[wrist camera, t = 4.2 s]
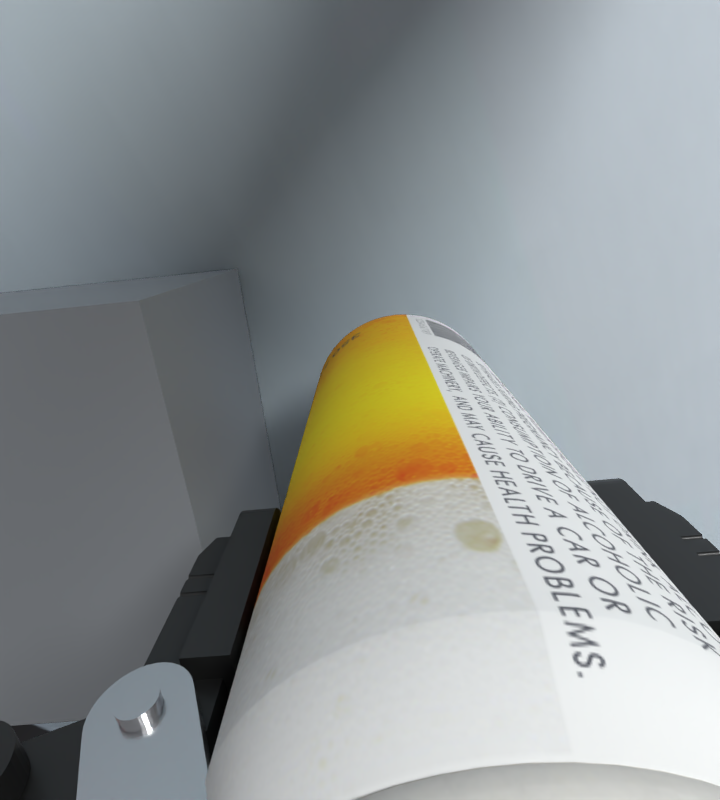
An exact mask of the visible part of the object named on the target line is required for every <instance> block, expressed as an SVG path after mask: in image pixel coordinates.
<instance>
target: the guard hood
mask: <svg viewBox="0 0 720 800" xmlns="http://www.w3.org/2000/svg"><path fill="white" fill-rule="evenodd" d="M267 508H279V510H280V512H281V508H280V502H279V496H278V491H277V485H276V480H275V474H274V469H273V463H272V458H271V452H270V447H269V441H268V435H267V430H266V424H265V419H264V413H263V408H262V402H261V397H260V391H259V385H258V380H257V374H256V369H255V363H254V358H253V352H252V347H251V341H250V335H249V330H248V324H247V319H246V313H245V308H244V302H243V297H242V291H241V286H240V280H239V274H238V269H230V270H220V271H211V272H201V273H191V274H181V275H172V276H162V277H152V278H142V279H133V280H123V281H113V282H103V283H94V284H84V285H74V286H64V287H55V288H45V289H35V290H25V291H16V292H6V293H0V721H4V722H6V723H8V724H9V725H10V726H13V725H27V724H41V723H54V722H68V721H80V720H83V719H85V718H87V716H88V714H89V712H90V710H91V708H92V707H93V705H94V704H95V703H96V701H97V700H98V699H99V697H100V696H101V695H102V694H103V693H104V692H105V691H106V690H107V689H108V688H109V687H110V686H111V685H112V684H114V683H115V682H116V681H118V680H119V679H120V678H122V677H123V676H125V675H126V674H128V673H130V672H132V671H134V670H136V669H138V668H140V667H143V666H144V664H145V662H146V660H147V658H148V656H149V654H150V652H151V650H152V648H153V646H154V644H155V642H156V640H157V638H158V636H159V634H160V632H161V630H162V628H163V626H164V624H165V622H166V620H167V618H168V616H169V614H170V612H171V610H172V608H173V606H174V604H175V602H176V600H177V598H178V597H180V592H181V590H182V588H183V586H184V584H185V582H186V580H188V578H189V576H188V575H189V573H190V571H191V569H192V567H193V565H194V563H195V561H196V559H197V557H198V555H199V554H200V553H201V552H203V551H204V550H205V549H206V548H207V547H208V546H209V545H210V544H211V543H212V542H213V541H214V540H215V539H216V538H219V537H230V536H231V534H232V531H233V529H234V526H235V524H236V522H237V519H238V517H239V515H240V513H241V512H242V511H245V510H256V509H267Z"/></svg>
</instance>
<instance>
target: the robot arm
mask: <svg viewBox="0 0 720 800" xmlns="http://www.w3.org/2000/svg"><path fill="white" fill-rule="evenodd" d="M586 482H587V483H588V484H589V485H590V486H591V488H592V489H593V490H594V491H595V492H596V493H597V495H598V496H599V497H600V498H601V499H602V501H603V502H604V503H605V504H606V505H607V506H608V508H609V509H610V510H611V511H612V512H613V513H614V515H615V516H616V517H617V518H618V519H619V520H620V522H621V523H622V524H623V525H624V526H625V528H626V529H627V530H628V531H629V532H630V533H631V535H632V536H633V537H634V538H635V539H636V540H637V542H638V543H639V544H640V545H641V546H642V547H643V549H644V550H645V551H646V552H647V553H648V554H649V556H650V557H651V558H652V559H653V560H654V562H655V563H656V564H657V565H658V566H659V567H660V569H661V570H662V571H663V572H664V573H665V574H666V576H667V577H668V578H669V579H670V580H671V581H672V583H673V584H674V585H675V586H676V587H677V589H678V590H679V591H680V592H681V593H682V594H683V596H684V597H685V598H686V599H687V600H688V601H689V603H690V604H691V605H692V606H693V607H694V608H695V610H696V611H697V612H698V613H699V614H700V616H701V617H702V618H703V619H704V620H705V621H706V623H707V624H708V625H709V626H710V627H711V628H712V630H713V631H714V632H715V633H716V634H717V635H718V637H719V638H720V553H719V550H718V549H717V548H716V547H715V546H714V545H713V544H711V543H710V542H709V541H708V540H707V539H703V538H702V534H701V533H700V532H699V531H697V530H696V529H695V528H694V527H693V526H692V525H691V524H690V523H689V522H688V521H687V520H686V519H685V518H683V517H682V516H681V515H679V514H677V513H675V512H673V511H671V510H670V509H668V508H666V507H664V506H662V505H660V504H658V503H656V502H654V501H651V502H645V501H644V500H643V499H642V498H641V497H640V496H639V495H638V494H637V493H636V492H635V491H634V490H633V489H632V488H631V487H630V486H629V485H628V484H627V483H626V482H625V481H624V480H622V479H619V478H618V479H607V480H595V481H586ZM280 515H281V512H280V510H279V508H267V509H256V510H245V511H242V512H241V513H240V515H239V517H238V519H237V522H236V524H235V526H234V529H233V531H232V534H231V536H230V537H219V538H216V539H215V540H214V541H213V542H212V543H211V544H210V545H209V546H208V547H207V548H206V549H205V550H204V551H203V552H201V553H200V554H199V555H198V557H197V559H196V561H195V563H194V565H193V567H192V569H191V571H190V573H189V575H188V576H189V578H188V580H186V582H185V584H184V586H183V588H182V590H181V592H180V597H178V598H177V600H176V602H175V604H174V606H173V608H172V610H171V612H170V614H169V616H168V618H167V620H166V622H165V624H164V626H163V628H162V630H161V632H160V634H159V636H158V638H157V640H156V642H155V644H154V646H153V648H152V650H151V652H150V654H149V656H148V658H147V660H146V662H145V664H144V666H143V667H140V668H138V669H136V670H134V671H132V672H130V673H128V674H126V675H125V676H123V677H122V678H120V679H119V680H118V681H116V682H115V683H114V684H112V685H111V686H110V687H109V688H108V689H107V690H106V691H105V692H104V693H103V694H102V695H101V696H100V697H99V699H98V700H97V701H96V703H95V704H94V705H93V707H92V708H91V710H90V712H89V714H88V716H87V718H85V719H83V720H80V721H78V722H76V723H73V724H70V725H67V726H65V727H62V728H59V729H56V730H54V731H51V732H48V733H45V734H43V735H40V736H37V737H34V738H32V739H29V740H26V741H23V742H20V741H19V739H18V737H17V735H16V733H15V731H14V729H13V728H12V727H11V726H10V725H9V724H8V723H6V722H4V721H0V800H208V799H207V792H206V786H205V779H206V776H207V772H208V769H209V765H210V762H211V758H212V754H213V751H214V747H215V744H216V740H217V737H218V733H219V730H220V726H221V723H222V719H223V716H224V712H225V709H226V705H227V702H228V698H229V695H230V691H231V688H232V684H233V681H234V677H235V674H236V670H237V667H238V663H239V660H240V656H241V652H242V649H243V645H244V642H245V638H246V635H247V631H248V628H249V624H250V621H251V617H252V614H253V610H254V607H255V603H256V600H257V596H258V593H259V589H260V586H261V582H262V579H263V575H264V572H265V568H266V565H267V561H268V558H269V554H270V550H271V547H272V543H273V540H274V536H275V533H276V529H277V526H278V522H279V519H280Z"/></svg>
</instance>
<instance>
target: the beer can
mask: <svg viewBox="0 0 720 800" xmlns="http://www.w3.org/2000/svg"><path fill="white" fill-rule="evenodd" d="M205 786H206V792H207V799H208V800H720V638H719V637H718V635H717V634H716V633H715V632H714V631H713V630H712V628H711V627H710V626H709V625H708V624H707V623H706V621H705V620H704V619H703V618H702V617H701V616H700V614H699V613H698V612H697V611H696V610H695V608H694V607H693V606H692V605H691V604H690V603H689V601H688V600H687V599H686V598H685V597H684V596H683V594H682V593H681V592H680V591H679V590H678V589H677V587H676V586H675V585H674V584H673V583H672V581H671V580H670V579H669V578H668V577H667V576H666V574H665V573H664V572H663V571H662V570H661V569H660V567H659V566H658V565H657V564H656V563H655V562H654V560H653V559H652V558H651V557H650V556H649V554H648V553H647V552H646V551H645V550H644V549H643V547H642V546H641V545H640V544H639V543H638V542H637V540H636V539H635V538H634V537H633V536H632V535H631V533H630V532H629V531H628V530H627V529H626V528H625V526H624V525H623V524H622V523H621V522H620V520H619V519H618V518H617V517H616V516H615V515H614V513H613V512H612V511H611V510H610V509H609V508H608V506H607V505H606V504H605V503H604V502H603V501H602V499H601V498H600V497H599V496H598V495H597V493H596V492H595V491H594V490H593V489H592V488H591V486H590V485H589V484H588V483H587V482H586V481H585V479H584V478H583V477H582V476H581V475H580V474H579V472H578V471H577V470H576V469H575V468H574V467H573V465H572V464H571V463H570V462H569V461H568V459H567V458H566V457H565V456H564V455H563V454H562V452H561V451H560V450H559V449H558V448H557V447H556V445H555V444H554V443H553V442H552V441H551V440H550V438H549V437H548V436H547V435H546V434H545V432H544V431H543V430H542V429H541V428H540V427H539V425H538V424H537V423H536V422H535V421H534V420H533V418H532V417H531V416H530V415H529V414H528V413H527V411H526V410H525V409H524V408H523V407H522V406H521V404H520V403H519V402H518V401H517V400H516V398H515V397H514V396H513V395H512V394H511V393H510V391H509V390H508V389H507V388H506V387H505V386H504V384H503V383H502V382H501V381H500V380H499V379H498V377H497V376H496V375H495V374H494V373H493V371H492V370H491V369H490V368H489V367H488V366H487V364H486V363H485V362H484V361H483V360H482V359H481V357H480V356H479V355H478V354H477V353H476V352H475V350H474V349H473V348H472V347H471V346H470V344H469V343H468V342H467V341H466V340H465V339H464V338H463V337H462V336H461V335H460V334H458V333H457V332H456V331H455V330H453V329H452V328H450V327H448V326H447V325H445V324H443V323H441V322H439V321H436V320H433V319H430V318H427V317H423V316H418V315H407V314H404V315H391V316H385V317H381V318H378V319H374V320H372V321H369V322H367V323H365V324H363V325H361V326H359V327H357V328H356V329H354V330H353V331H352V332H350V333H349V334H347V335H346V336H345V337H344V338H343V339H342V340H341V341H340V342H339V343H338V344H337V345H336V347H335V348H334V349H333V350H332V352H331V353H330V355H329V356H328V358H327V360H326V362H325V364H324V366H323V369H322V372H321V375H320V378H319V382H318V385H317V389H316V392H315V396H314V399H313V403H312V406H311V410H310V413H309V417H308V420H307V424H306V427H305V431H304V434H303V438H302V441H301V445H300V448H299V452H298V456H297V459H296V463H295V466H294V470H293V473H292V477H291V480H290V484H289V487H288V491H287V494H286V498H285V501H284V505H283V508H282V512H281V515H280V519H279V522H278V526H277V529H276V533H275V536H274V540H273V543H272V547H271V550H270V554H269V558H268V561H267V565H266V568H265V572H264V575H263V579H262V582H261V586H260V589H259V593H258V596H257V600H256V603H255V607H254V610H253V614H252V617H251V621H250V624H249V628H248V631H247V635H246V638H245V642H244V645H243V649H242V652H241V656H240V660H239V663H238V667H237V670H236V674H235V677H234V681H233V684H232V688H231V691H230V695H229V698H228V702H227V705H226V709H225V712H224V716H223V719H222V723H221V726H220V730H219V733H218V737H217V740H216V744H215V747H214V751H213V754H212V758H211V762H210V765H209V769H208V772H207V776H206V779H205Z"/></svg>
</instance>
